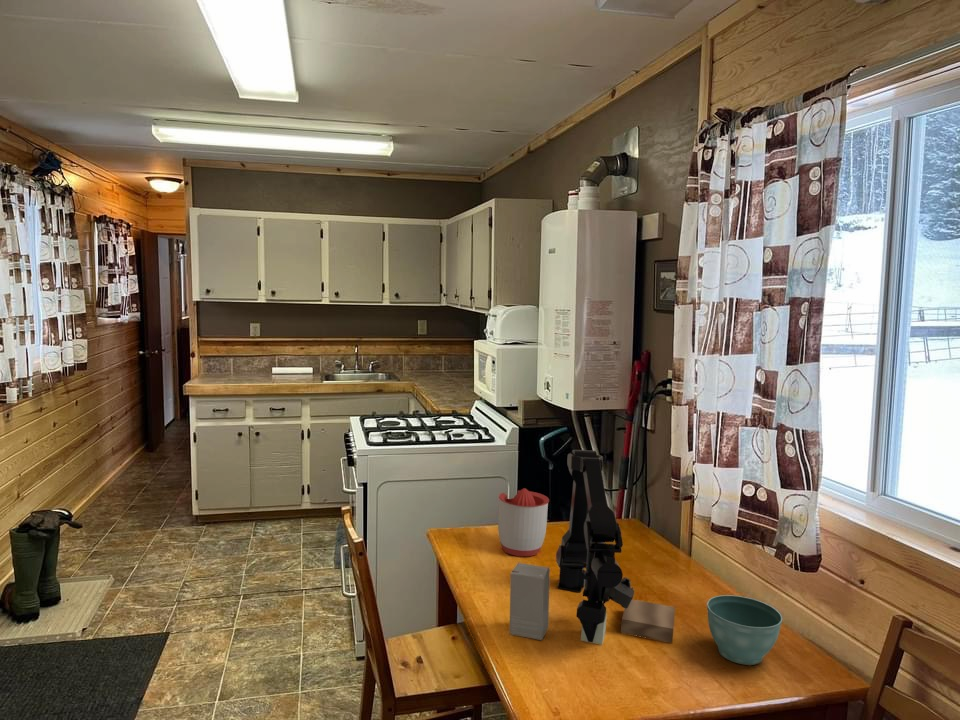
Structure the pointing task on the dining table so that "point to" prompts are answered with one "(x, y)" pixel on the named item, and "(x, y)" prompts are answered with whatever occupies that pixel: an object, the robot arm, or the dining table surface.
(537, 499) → the citrus juicer
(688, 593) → the dining table surface
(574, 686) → the dining table surface
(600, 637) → the sage block
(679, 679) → the dining table surface
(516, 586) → the skincare box
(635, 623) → the walnut block
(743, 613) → the flower pot
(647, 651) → the dining table surface
